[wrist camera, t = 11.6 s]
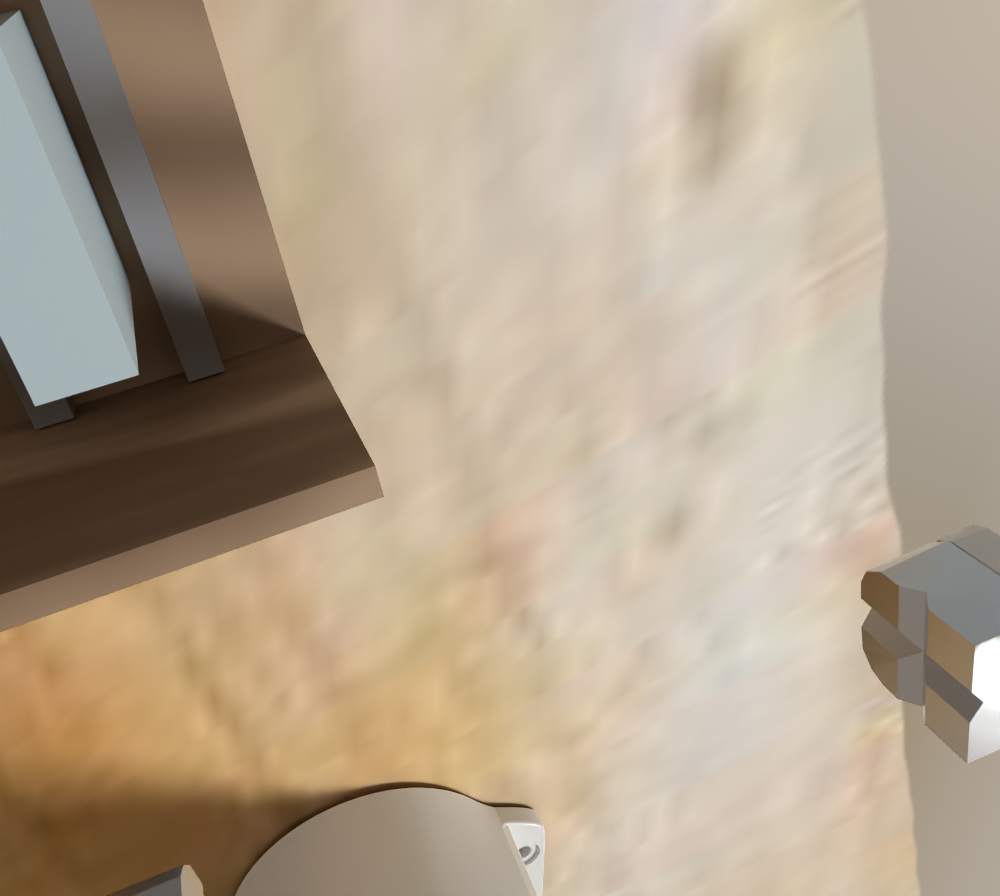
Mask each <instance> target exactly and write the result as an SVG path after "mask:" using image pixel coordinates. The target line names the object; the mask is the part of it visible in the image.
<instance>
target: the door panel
mask: <svg viewBox="0 0 1000 896" xmlns="http://www.w3.org/2000/svg"><path fill="white" fill-rule="evenodd" d="M0 336H1V338H2V340H3V342H4V344H5V346H6V348H7V350H8V352H9V354H10V356H11V359H12V361H13V363H14V365H15V367H16V369H17V371H18V373H19V375H20V377H21V379H22V381H23V383H24V385H25V387H26V389H27V391H28V393H29V395H30V397H31V399H32V401H33V403H34V405H35V406H38V405H42V404H45V403H48V402H52V401H55V400H58V399H61V398H65V397H68V396H71V395H75V394H78V393H81V392H84V391H88V390H91V389H94V388H98V387H101V386H104V385H107V384H111V383H114V382H117V381H120V380H124V379H127V378H130V377H134V376H137V375H139V372H138V362H137V352H136V342H135V332H134V321H133V311H132V301H131V291H130V281H129V278H128V275H127V273H126V270H125V268H124V265H123V263H122V260H121V258H120V255H119V253H118V250H117V248H116V245H115V243H114V240H113V238H112V235H111V233H110V231H109V228H108V226H107V223H106V221H105V218H104V216H103V213H102V211H101V208H100V206H99V203H98V201H97V198H96V196H95V193H94V191H93V188H92V186H91V183H90V181H89V178H88V176H87V173H86V171H85V168H84V166H83V163H82V161H81V158H80V156H79V153H78V151H77V148H76V146H75V143H74V141H73V138H72V136H71V134H70V131H69V129H68V126H67V124H66V121H65V119H64V116H63V114H62V111H61V109H60V106H59V104H58V101H57V99H56V96H55V94H54V91H53V89H52V86H51V84H50V81H49V79H48V76H47V74H46V71H45V69H44V66H43V64H42V61H41V59H40V56H39V54H38V51H37V49H36V46H35V44H34V41H33V39H32V36H31V34H30V32H29V29H28V27H27V24H26V22H25V19H24V17H23V14H22V12H21V9H19V10H14V11H9V12H4V13H0Z"/></svg>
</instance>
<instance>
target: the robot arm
mask: <svg viewBox="0 0 1000 896" xmlns="http://www.w3.org/2000/svg"><path fill="white" fill-rule="evenodd" d="M861 599H862V600H864V601H865V602H866V603H867V604H868V605H869V606H871V607H872V609H871V610H870V612H869V614H868V616H867V618H866V619H865V621H864V623H863V625H862V643H863V650H864V652H865V654H866V657H867V659H868V661H869V664H870V666H871V669H872V670H873V672H874V673H875V674H876V676H877V677H878V679H879V680H880V681H881V683H882V684H883V685H884V686H885V687H886V688H887V689H888V690H889V691H890V692H891V693H892V694H893V695H894V696H895V697H896V698H897V699H900V700H903V701H906V702H910V703H913V704H916V705H920V706H922V707H923V715H924V722H925V725H926V726H927V727H928V728H929V729H930V730H931V731H933V732H934V733H935V734H936V735H937V736H938V737H939V738H940V739H941V740H942V741H943V742H944V743H945V744H946V745H948V746H949V747H950V748H951V749H952V750H953V751H954V752H955V753H956V754H957V755H958V756H959V757H960V758H962V759H963V760H964V761H965V762H966V763H967V764H968V763H970V762H972V761H975V760H977V759H979V758H981V757H983V756H986V755H988V754H990V753H992V752H995V751H997V750H999V749H1000V536H999V535H998V534H996V533H995V532H993V531H991V530H990V529H988V528H986V527H983V526H978V525H971V526H969V527H966V528H964V529H962V530H960V531H957V532H955V533H953V534H950V535H948V536H946V537H944V538H941V539H939V540H937V541H936V542H932V543H929V544H927V545H925V546H922V547H920V548H918V549H916V550H913V551H911V552H909V553H907V554H904V555H902V556H900V557H898V558H895V559H893V560H891V561H889V562H886V563H884V564H882V565H880V566H877V567H875V568H873V569H870V570H868V571H866V573H865V575H864V577H863V579H862V581H861ZM544 850H545V829H544V826H543V823H542V821H541V818H540V815H539V813H538V812H536V811H535V810H533V809H529V808H519V807H490V806H487V805H484V804H481V803H479V802H477V801H475V800H473V799H471V798H468V797H466V796H464V795H461V794H458V793H455V792H451V791H447V790H442V789H434V788H402V789H394V790H387V791H382V792H377V793H373V794H369V795H365V796H362V797H359V798H356V799H353V800H350V801H347V802H344V803H342V804H339V805H337V806H335V807H332V808H330V809H328V810H326V811H324V812H322V813H320V814H318V815H316V816H314V817H313V818H311V819H309V820H307V821H306V822H304V823H303V824H301V825H299V826H298V827H296V828H295V829H293V830H292V831H291V832H289V833H288V834H287V835H285V836H284V837H283V838H281V839H280V840H279V841H278V842H277V843H275V844H274V845H273V846H272V847H271V848H270V849H269V850H268V851H267V852H266V853H265V854H264V855H263V856H262V857H261V858H260V859H259V860H258V861H257V862H256V864H255V865H254V866H253V867H252V869H251V870H250V871H249V872H248V874H247V875H246V877H245V878H244V880H243V881H242V883H241V885H240V886H239V888H238V890H237V892H236V894H235V896H542V887H543V869H544ZM107 896H204V895H203V884H202V883H201V881H200V880H199V878H198V877H197V875H196V874H195V872H194V870H193V869H192V867H191V866H190V865H182V866H180V867H177V868H175V869H172V870H170V871H167V872H165V873H162V874H160V875H157V876H155V877H152V878H150V879H147V880H145V881H142V882H140V883H137V884H135V885H132V886H130V887H127V888H125V889H122V890H120V891H117V892H115V893H112V894H110V895H107Z"/></svg>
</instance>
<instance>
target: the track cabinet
mask: <svg viewBox="0 0 1000 896" xmlns="http://www.w3.org/2000/svg"><path fill="white" fill-rule="evenodd" d="M19 9H21V12H22V14H23V17H24V19H25V22H26V24H27V27H28V29H29V32H30V34H31V36H32V39H33V41H34V44H35V46H36V49H37V51H38V54H39V56H40V59H41V61H42V64H43V66H44V69H45V71H46V74H47V76H48V79H49V81H50V84H51V86H52V89H53V91H54V94H55V96H56V99H57V101H58V104H59V106H60V109H61V111H62V114H63V116H64V119H65V121H66V124H67V126H68V129H69V131H70V134H71V136H72V138H73V141H74V143H75V146H76V148H77V151H78V153H79V156H80V158H81V161H82V163H83V166H84V168H85V171H86V173H87V176H88V178H89V181H90V183H91V186H92V188H93V191H94V193H95V196H96V198H97V201H98V203H99V206H100V208H101V211H102V213H103V216H104V218H105V221H106V223H107V226H108V228H109V231H110V233H111V235H112V238H113V240H114V243H115V245H116V248H117V250H118V253H119V255H120V258H121V260H122V263H123V265H124V268H125V270H126V273H127V275H128V278H129V281H130V291H131V301H132V311H133V321H134V332H135V342H136V352H137V362H138V372H139V375H137V376H134V377H130V378H127V379H124V380H120V381H117V382H114V383H111V384H107V385H104V386H101V387H98V388H94V389H91V390H88V391H84V392H81V393H78V394H75V395H71V396H68V397H65V398H61V399H58V400H55V401H52V402H48V403H45V404H42V405H38V406H35V405H34V403H33V401H32V399H31V397H30V395H29V393H28V391H27V389H26V387H25V385H24V383H23V381H22V379H21V377H20V375H19V373H18V371H17V369H16V367H15V365H14V363H13V361H12V359H11V356H10V354H9V352H8V350H7V348H6V346H5V344H4V342H3V340H2V338H1V336H0V632H2V631H5V630H8V629H11V628H14V627H16V626H19V625H22V624H25V623H28V622H31V621H33V620H36V619H39V618H42V617H45V616H48V615H50V614H53V613H56V612H59V611H62V610H65V609H67V608H70V607H73V606H76V605H79V604H82V603H84V602H87V601H90V600H93V599H96V598H99V597H101V596H104V595H107V594H110V593H113V592H116V591H118V590H121V589H124V588H127V587H130V586H133V585H135V584H138V583H141V582H144V581H147V580H150V579H152V578H155V577H158V576H161V575H164V574H167V573H169V572H172V571H175V570H178V569H181V568H183V567H186V566H189V565H192V564H195V563H198V562H200V561H203V560H206V559H209V558H212V557H215V556H217V555H220V554H223V553H226V552H229V551H232V550H234V549H237V548H240V547H243V546H246V545H249V544H251V543H254V542H257V541H260V540H263V539H266V538H268V537H271V536H274V535H277V534H280V533H283V532H285V531H288V530H291V529H294V528H297V527H300V526H302V525H305V524H308V523H311V522H314V521H317V520H319V519H322V518H325V517H328V516H331V515H334V514H336V513H339V512H342V511H345V510H348V509H350V508H353V507H356V506H359V505H362V504H365V503H367V502H370V501H373V500H376V499H379V498H382V497H384V495H383V492H382V489H381V485H380V482H379V478H378V475H377V471H376V468H375V465H374V463H373V461H372V459H371V457H370V456H369V454H368V452H367V450H366V448H365V446H364V444H363V442H362V441H361V439H360V437H359V435H358V433H357V431H356V429H355V427H354V426H353V424H352V422H351V420H350V418H349V416H348V414H347V412H346V411H345V409H344V407H343V405H342V403H341V401H340V399H339V397H338V396H337V394H336V392H335V390H334V388H333V386H332V384H331V382H330V381H329V379H328V377H327V375H326V373H325V371H324V369H323V367H322V366H321V364H320V362H319V360H318V358H317V356H316V354H315V352H314V351H313V349H312V347H311V345H310V343H309V341H308V339H307V337H306V336H305V333H304V330H303V326H302V323H301V320H300V317H299V313H298V310H297V307H296V304H295V300H294V297H293V294H292V291H291V287H290V284H289V281H288V278H287V274H286V271H285V268H284V265H283V261H282V258H281V255H280V252H279V248H278V245H277V242H276V239H275V235H274V232H273V229H272V225H271V222H270V219H269V216H268V212H267V209H266V206H265V203H264V199H263V196H262V193H261V190H260V186H259V183H258V180H257V177H256V173H255V170H254V167H253V164H252V160H251V157H250V154H249V151H248V147H247V144H246V141H245V138H244V134H243V131H242V128H241V125H240V121H239V118H238V115H237V112H236V108H235V105H234V102H233V99H232V95H231V92H230V89H229V86H228V82H227V79H226V76H225V73H224V69H223V66H222V63H221V60H220V56H219V53H218V50H217V47H216V43H215V40H214V37H213V34H212V30H211V27H210V24H209V21H208V17H207V14H206V11H205V8H204V4H203V1H202V0H0V13H4V12H9V11H14V10H19Z"/></svg>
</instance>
